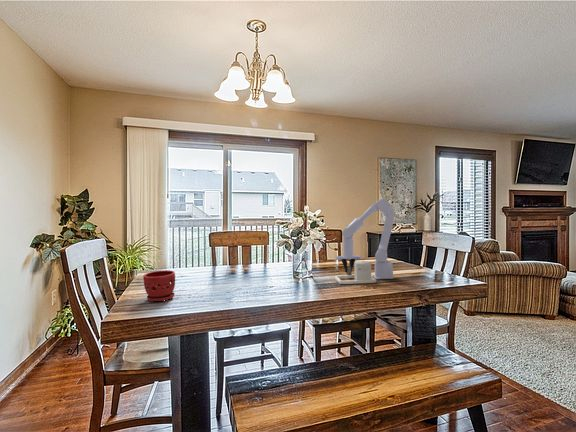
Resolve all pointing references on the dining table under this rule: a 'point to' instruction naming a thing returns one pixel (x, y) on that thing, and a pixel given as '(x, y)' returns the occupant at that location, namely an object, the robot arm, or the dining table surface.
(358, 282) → the pull frame
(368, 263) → the small box
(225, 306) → the dining table surface
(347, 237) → the robot arm
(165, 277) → the plant pot
